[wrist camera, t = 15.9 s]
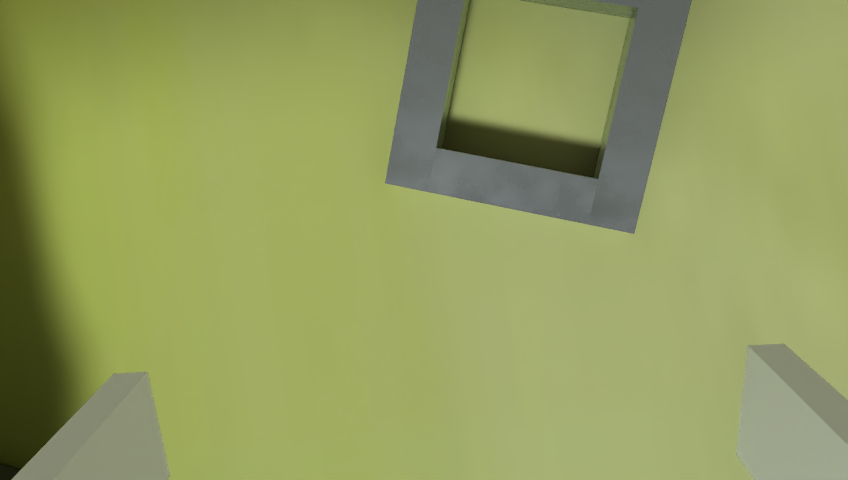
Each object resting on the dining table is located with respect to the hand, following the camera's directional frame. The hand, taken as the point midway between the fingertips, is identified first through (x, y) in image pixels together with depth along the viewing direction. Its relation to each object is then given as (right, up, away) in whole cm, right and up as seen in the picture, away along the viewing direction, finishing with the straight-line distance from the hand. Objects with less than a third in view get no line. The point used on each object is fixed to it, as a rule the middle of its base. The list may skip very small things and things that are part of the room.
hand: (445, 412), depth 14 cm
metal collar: (+6, +13, +22) cm, 26 cm away
